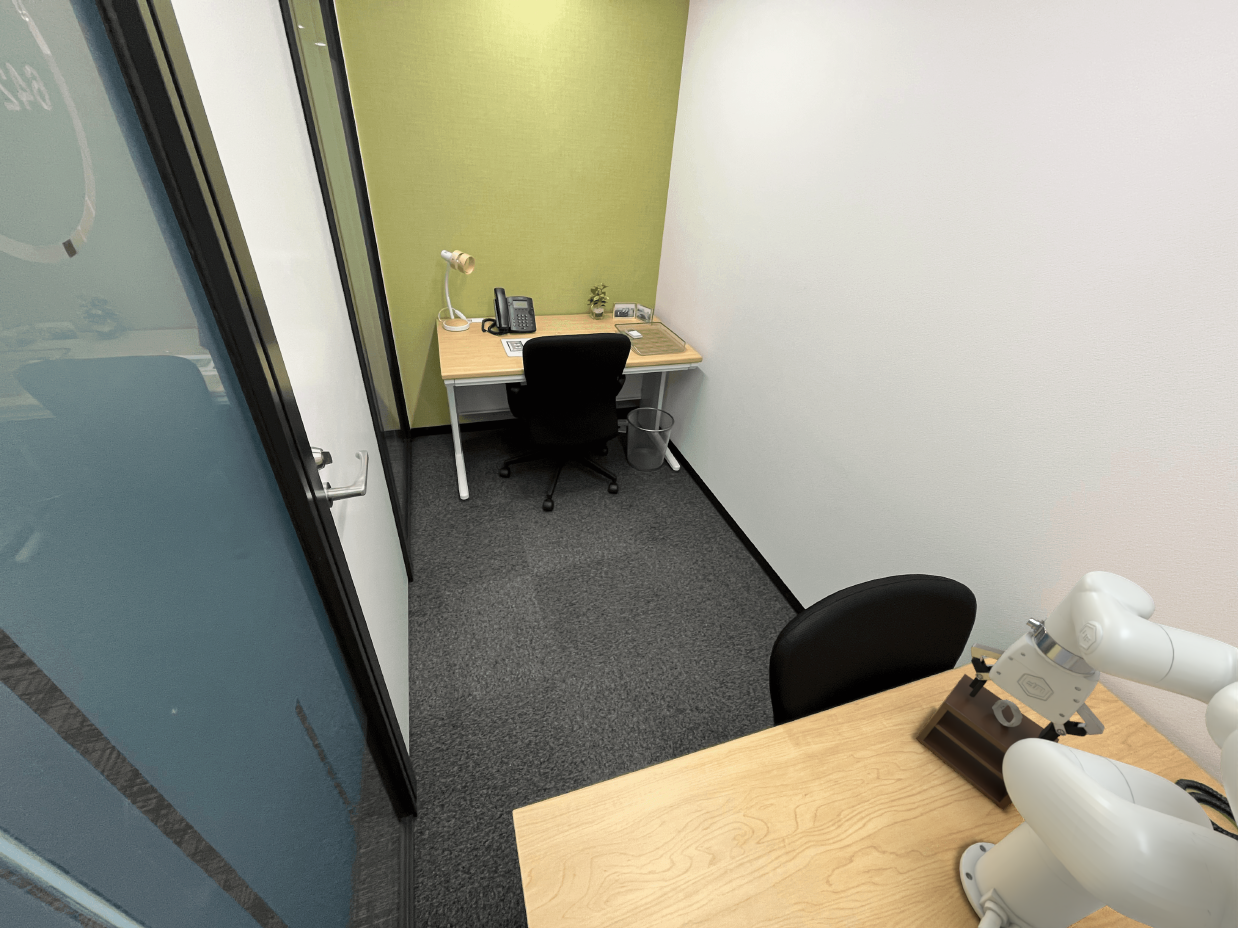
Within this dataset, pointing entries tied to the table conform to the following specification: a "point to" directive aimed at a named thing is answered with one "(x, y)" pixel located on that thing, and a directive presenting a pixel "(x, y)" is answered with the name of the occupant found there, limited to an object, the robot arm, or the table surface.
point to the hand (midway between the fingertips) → (1006, 714)
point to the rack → (976, 738)
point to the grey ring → (1017, 713)
